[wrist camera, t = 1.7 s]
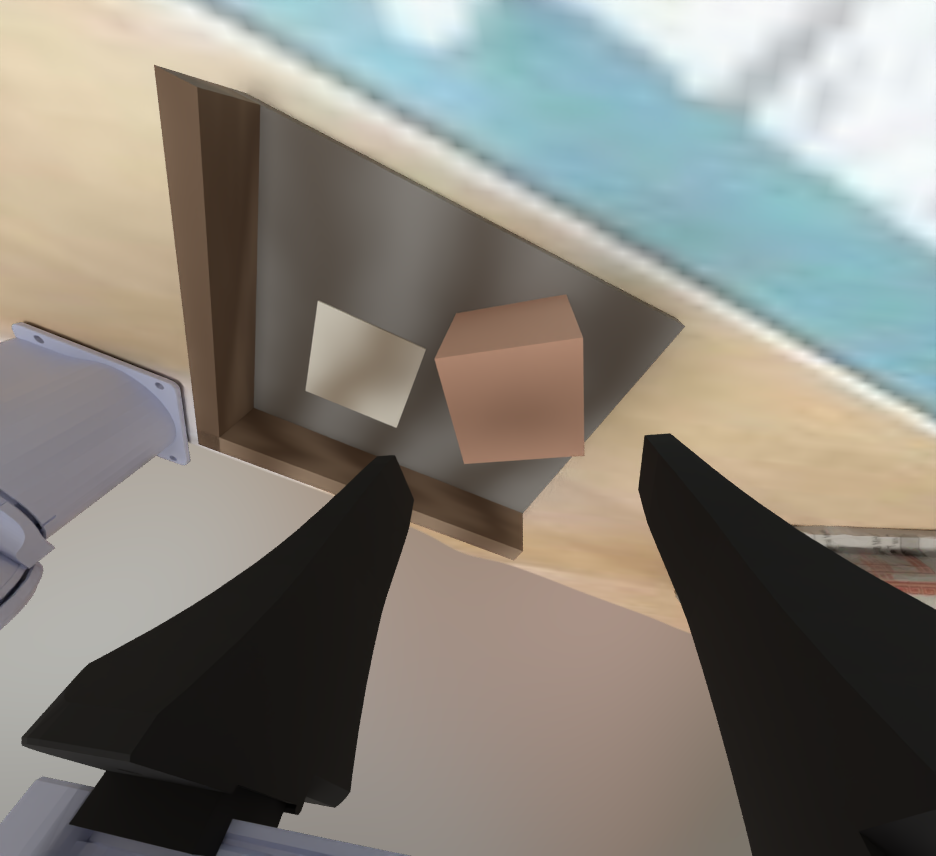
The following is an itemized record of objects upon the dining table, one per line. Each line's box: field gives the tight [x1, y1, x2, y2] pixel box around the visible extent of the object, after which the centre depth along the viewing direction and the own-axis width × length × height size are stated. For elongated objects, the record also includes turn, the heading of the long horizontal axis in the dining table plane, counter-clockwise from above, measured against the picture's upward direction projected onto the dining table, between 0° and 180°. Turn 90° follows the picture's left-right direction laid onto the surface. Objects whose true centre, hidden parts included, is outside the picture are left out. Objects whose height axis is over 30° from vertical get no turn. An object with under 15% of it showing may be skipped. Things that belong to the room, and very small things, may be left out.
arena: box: [154, 65, 685, 560], centre depth 17 cm, size 20×16×4 cm
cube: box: [435, 294, 584, 464], centre depth 15 cm, size 5×5×5 cm
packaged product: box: [675, 526, 936, 609], centre depth 23 cm, size 18×5×10 cm
